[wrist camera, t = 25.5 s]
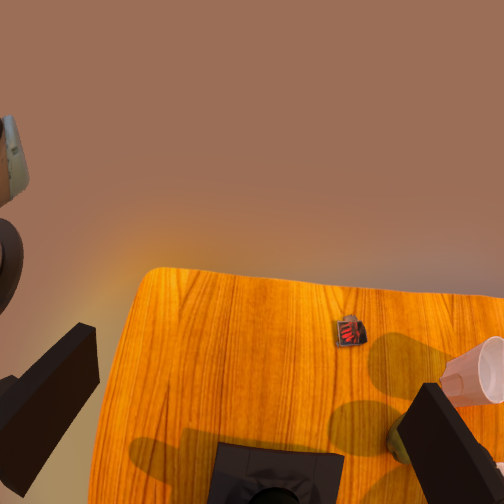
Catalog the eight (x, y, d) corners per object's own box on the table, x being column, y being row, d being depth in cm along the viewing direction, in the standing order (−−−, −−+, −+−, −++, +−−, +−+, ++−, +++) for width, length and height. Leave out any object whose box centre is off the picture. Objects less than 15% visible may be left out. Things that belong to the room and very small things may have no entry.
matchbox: (369, 341, 40) (370, 340, 40) (339, 352, 39) (340, 352, 38) (358, 312, 42) (359, 311, 42) (328, 322, 41) (329, 321, 41)
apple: (432, 435, 33) (466, 433, 26) (388, 472, 30) (421, 478, 23) (413, 396, 36) (447, 389, 29) (367, 432, 33) (398, 432, 27)
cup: (481, 372, 38) (521, 358, 30) (461, 421, 34) (504, 414, 25) (449, 343, 41) (489, 323, 32) (426, 393, 37) (469, 382, 28)
